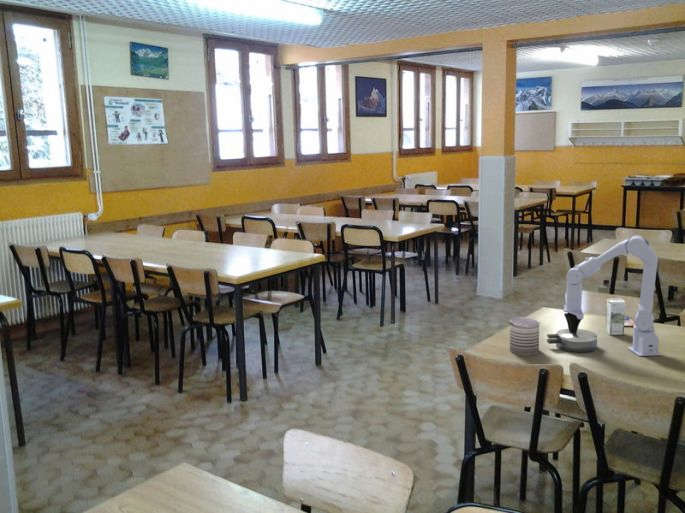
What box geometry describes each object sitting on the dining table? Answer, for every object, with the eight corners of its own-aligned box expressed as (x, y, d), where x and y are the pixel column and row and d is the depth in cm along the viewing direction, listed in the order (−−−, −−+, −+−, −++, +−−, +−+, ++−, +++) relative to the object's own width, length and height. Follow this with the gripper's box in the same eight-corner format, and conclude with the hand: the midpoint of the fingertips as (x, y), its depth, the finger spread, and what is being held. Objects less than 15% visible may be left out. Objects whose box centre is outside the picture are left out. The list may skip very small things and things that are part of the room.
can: (527, 344, 260) (527, 315, 258) (545, 352, 250) (546, 322, 248) (503, 348, 256) (503, 319, 254) (520, 357, 246) (521, 326, 244)
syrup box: (619, 331, 272) (621, 297, 270) (624, 335, 266) (625, 301, 264) (605, 331, 273) (606, 298, 270) (609, 335, 267) (611, 301, 264)
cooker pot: (603, 352, 248) (603, 341, 247) (554, 354, 247) (555, 344, 246) (586, 340, 263) (587, 330, 262) (541, 342, 262) (541, 332, 261)
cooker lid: (603, 341, 247) (604, 339, 247) (555, 344, 246) (555, 341, 246) (587, 329, 262) (587, 327, 262) (541, 332, 261) (541, 329, 261)
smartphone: (620, 325, 278) (613, 316, 293) (620, 328, 278) (613, 318, 293) (638, 325, 277) (630, 316, 291) (638, 328, 277) (630, 318, 291)
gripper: (556, 294, 262) (555, 327, 264) (571, 303, 248) (570, 337, 250) (574, 293, 262) (573, 326, 265) (589, 302, 248) (588, 337, 250)
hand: (572, 331), depth 257 cm, fingers closed on cooker lid
